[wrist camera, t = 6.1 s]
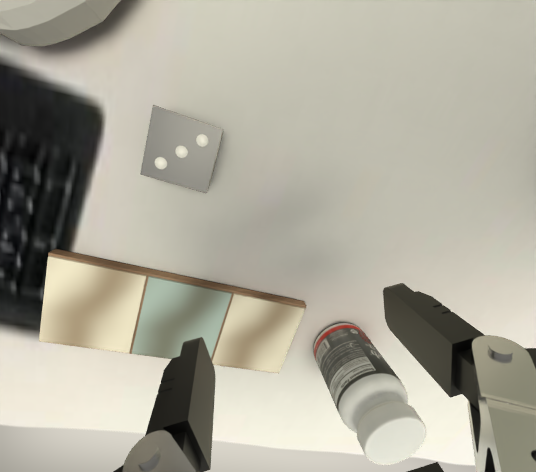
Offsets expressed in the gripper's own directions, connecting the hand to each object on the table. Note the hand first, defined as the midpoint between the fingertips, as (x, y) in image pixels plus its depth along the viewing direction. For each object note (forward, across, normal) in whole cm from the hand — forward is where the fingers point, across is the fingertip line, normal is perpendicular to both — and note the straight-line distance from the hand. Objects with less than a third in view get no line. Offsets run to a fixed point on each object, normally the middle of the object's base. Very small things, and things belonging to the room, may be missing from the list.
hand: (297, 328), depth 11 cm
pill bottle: (+12, -5, +13) cm, 19 cm away
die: (+12, +4, -8) cm, 15 cm away
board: (+12, +9, +5) cm, 16 cm away
